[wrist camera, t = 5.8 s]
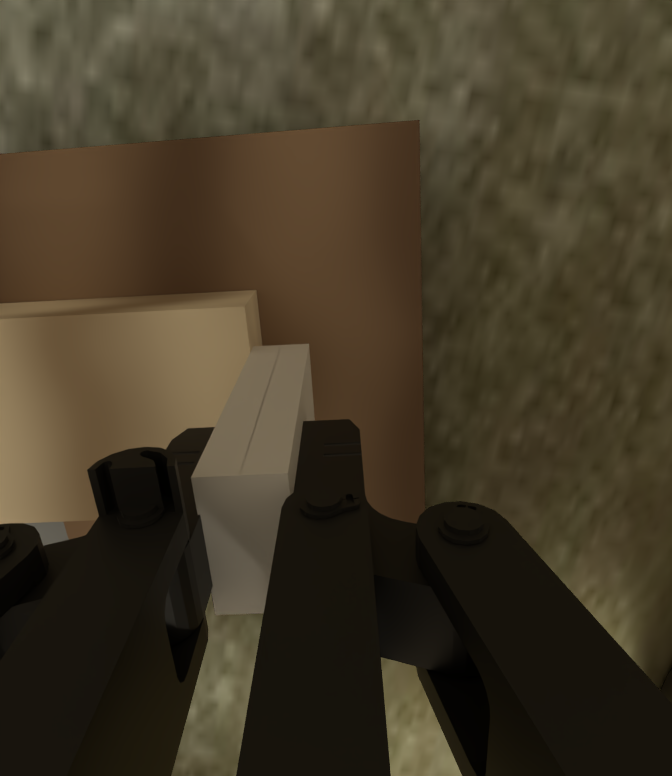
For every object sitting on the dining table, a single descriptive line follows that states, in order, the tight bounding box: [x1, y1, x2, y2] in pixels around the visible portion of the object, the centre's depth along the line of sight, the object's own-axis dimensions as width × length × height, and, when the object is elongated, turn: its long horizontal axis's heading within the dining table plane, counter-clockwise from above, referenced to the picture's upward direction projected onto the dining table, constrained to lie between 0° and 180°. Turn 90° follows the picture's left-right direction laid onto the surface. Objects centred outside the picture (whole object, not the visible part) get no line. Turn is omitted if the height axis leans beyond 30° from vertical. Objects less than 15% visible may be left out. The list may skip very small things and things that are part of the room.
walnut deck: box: [0, 120, 425, 539], centre depth 17 cm, size 12×14×2 cm
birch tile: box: [0, 290, 262, 524], centre depth 15 cm, size 8×6×2 cm
